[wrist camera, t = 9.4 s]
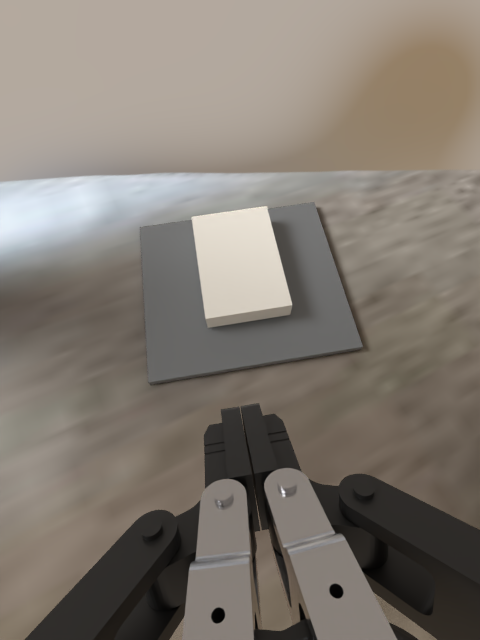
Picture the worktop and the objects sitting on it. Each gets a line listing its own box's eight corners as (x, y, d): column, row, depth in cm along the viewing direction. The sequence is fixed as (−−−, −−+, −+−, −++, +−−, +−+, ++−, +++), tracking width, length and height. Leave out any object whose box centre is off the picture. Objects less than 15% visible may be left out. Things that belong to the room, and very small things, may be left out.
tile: (205, 319, 32) (191, 216, 37) (208, 329, 34) (194, 231, 39) (292, 305, 32) (266, 206, 37) (289, 316, 34) (265, 221, 39)
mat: (150, 384, 33) (148, 382, 32) (141, 232, 40) (139, 227, 39) (360, 349, 34) (363, 346, 33) (312, 207, 41) (314, 202, 40)
